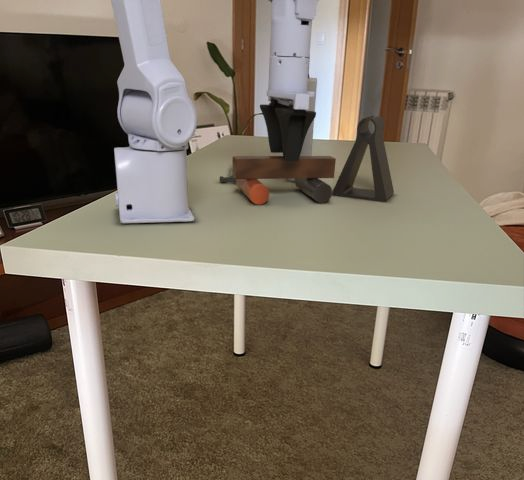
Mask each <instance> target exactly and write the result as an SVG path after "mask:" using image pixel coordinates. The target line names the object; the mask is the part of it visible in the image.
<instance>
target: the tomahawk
mask: <svg viewBox="0 0 524 480" xmlns="http://www.w3.org/2000/svg"><path fill="white" fill-rule="evenodd" d="M232 169H233V166H232V167H231V170H230V174H229V176H227V177H224V176H223V175H222V176H221V175H220V176H219V182H223V183H224V182H229V183H230V182H231V183H235V184H236V179H235V178H234V177H233V176H232Z"/></svg>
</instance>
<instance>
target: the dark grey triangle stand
mask: <svg viewBox="0 0 524 480" xmlns="http://www.w3.org/2000/svg"><path fill="white" fill-rule="evenodd" d="M370 121H371V122H372V124H373V125H374V130H373V132H372V131H370V128H369V123H370ZM385 127H386V122H385V119H384V118H383V117H382V116H381V115H378V116H375V115H371V116H367V117H364V118H362V119H361V120H360V121H359V122H358V123H357V126H356V131H357V132H356V138H355V141H354V143H353V146H352V147H351V150H350V152H349V155H348V157H347V159H346V161H345V163H344V166H343V168H342V170H341V172H340V175H339V177H338V179H337V181H336V183H335V185H334V187H333V190H332V196H335V197H336V196H338V197H345V198H353V199H360V200H368V201H369V200H370V201H377V202H384V203H385V202H387V200H388V199H390V197H392V196H393V195H394V193H395V190H394V186H393V179H392V176H391V175H392V174H391V171H390V165H389V160H388V155H387V149H386V145H385V141H384V131H385ZM368 147H369V155H370V164H371V172H372V180H373V189H367V188H361V187H360V188H359V187H354V183H355V181H356V178H357V175H358V173H359V170H360V167H361V165H362V162H363V160H364V156H365V154H366V152H367V148H368Z"/></svg>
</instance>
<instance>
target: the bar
mask: <svg viewBox="0 0 524 480" xmlns="http://www.w3.org/2000/svg"><path fill="white" fill-rule="evenodd" d="M336 161H337V159H336V158H335V157H334V156H331V155H311V156H300V157H299V160H298V161H285V160H284V158H283V155H233V156H232V167H233V169H232V168H231V170H232V176H233V177H234V178H235V179H258V180H284V179H285V180H286V179H287V180H288V179H301V178H318V179H334V178H335V171H336Z"/></svg>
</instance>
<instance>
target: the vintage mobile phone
mask: <svg viewBox="0 0 524 480" xmlns="http://www.w3.org/2000/svg"><path fill="white" fill-rule="evenodd" d="M304 58H309V63H310V61H311V56H310V57H304ZM317 85H318V79H317V77H310V70H309V71H308V85H307V91H311V92H315V95H314V97H309V109H308V110H306V111H314V112H316V101H317V99H316V98H317V87H318V86H317ZM314 124H315V119H314V120H313V121H312V123H311V125H310V127H309V129H308V131H307V134H306V137H305V140H304V143H303V147H302V150H301V154H300V156H312V151H313V140H314V127H315V125H314ZM287 180H288V182H291V183H295V179H287Z"/></svg>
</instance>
